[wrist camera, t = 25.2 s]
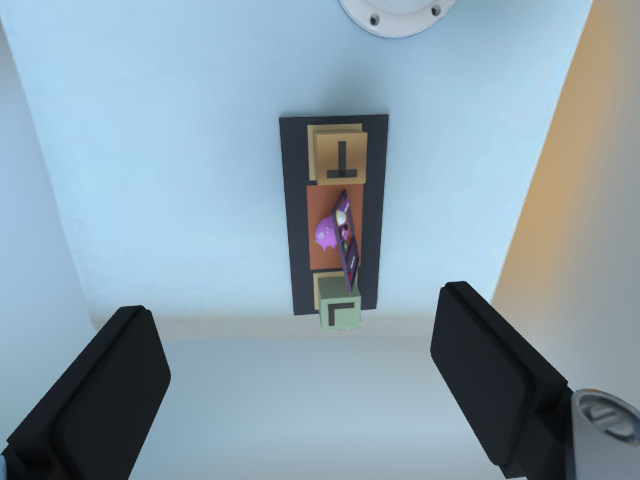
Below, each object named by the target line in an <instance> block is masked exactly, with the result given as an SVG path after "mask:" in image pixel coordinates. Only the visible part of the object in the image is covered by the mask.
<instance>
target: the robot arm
mask: <svg viewBox="0 0 640 480" xmlns="http://www.w3.org/2000/svg"><path fill="white" fill-rule="evenodd" d="M338 1H339V3H340V5H341V6H342V7H343V9H344V10H345V12H346V13H347V14H348V16H349V17H350V18H351V19H352V20H353V21H354V22H355V23H356V24H357V25H359V26H360V27H361V28H363V29H364V30H366V31H368V32H370V33H371V34H374V35H377V36H380V37H384V38H402V37H409V36H411V35H414V34H416V33H419V32H422V31H423V30H425V29H426V28H428V27H430V26H432V25H433V24H434V23H436V22H437V21H438V20H440V19H441V18H442V17H443V16H444V15H445V14H446V13H447V12H448V10H449V9H450V8H451V7H452V6H453V5H454V3H455V2H456V0H338ZM431 10H433V11H434V15H433V14H432V11H431ZM371 19H374V20H375V24H374V25H372V24H371V23H370V20H371ZM430 352H431V356H432V359H433V361H434V363H435V364H436V366H437V368H438V369H439V371H440V373H441V375H442V377H443V378H444V380H445V382H446V384H447V386H448V387H449V389H450V391H451V393H452V394H453V396H454V398H455V399H456V401H457V403H458V405H459V407H460V408H461V410H462V412H463V413H464V415H465V417H466V419H467V421H468V422H469V424H470V426H471V428H472V429H473V431H474V433H475V435H476V436H477V438H478V440H479V442H480V444H481V445H482V447H483V448H484V450H485V452H486V454H487V456H488V458H489V459H490V461H491V462H492V463H493V464H494V465H498V466H499V467H500V469H501V471H502V473H503V474H504V476H505V478H506V479H510V478H518V477H525V476H526V477H527V479H528V480H640V411H638V410H637V409H636V408H635V407H633V406H632V405H630V404H628V403H627V402H625V401H623V400H622V399H620V398H618V397H615V396H613V395H611V394H609V393H606V392H602V391H599V390H595V389H581V390H577V391H576V392H573V391H572V390H571V389H570V388H569V387H568V386H567V384H568V381H567V380H566V379H565V378H564V377H563V376H562V375H561V374H560V373H559V372H558V371H557V370H556V369H555V368H554V367H553V366H552V365H551V364H550V363H549V362H548V361H546V359H545V358H544V357H543V356H542V355H540V353H539V352H537V350H536V349H534V348H533V347H532V346H531V345H530V344H529V343H528V342H527V341H526V340H525V339H524V338H523V337H522V336H521V335H520V334H519V333H518V332H517V331H516V330H515V329H514V328H513V327H512V326H511V325H510V324H509V323H508V322H507V321H506V320H505V319H504V318H503V317H502V316H501V315H500V314H499V313H498V312H497V311H496V310H495V309H494V308H493V307H492V306H491V305H490V304H489V303H488V302H487V301H486V300H485V299H484V298H483V297H482V296H481V295H480V294H479V293H478V292H476V291H475V290H474V289H473V288H472V287H471V286H470V285H469V284H468V283H467V282H466V281H458V282H448V283H446V284H445V287H442V288H441V289H440V294H439V299H438V305H437V311H436V317H435V323H434V329H433V335H432V341H431V348H430ZM170 379H171V373H170V369H169V366H168V363H167V360H166V357H165V354H164V350H163V347H162V344H161V341H160V338H159V335H158V332H157V328H156V325H155V322H154V319H153V316H152V313H151V311H150V310H146V309H145V307H144V306H142V305H138V306H125V307H120V308H119V309H118V310H117V311H116V312H115V313H114V315H113V316H112V317H111V318H110V319H109V320H108V322H107V323H106V324H105V325H104V326H103V328H102V329H101V330H100V331H99V332H98V333H97V335H96V336H95V337H94V338H93V339H92V340H91V342H90V343H89V344H88V345H87V346H86V348H85V349H84V350H83V351H82V352H81V353H80V354H79V356H78V357H77V358H76V359H75V360H74V362H73V363H72V364H71V365H70V366H69V367H68V369H67V370H66V371H65V372H64V373H63V374H62V376H61V377H60V378H59V379H58V380H57V381H56V383H55V384H54V385H53V386H52V387H51V388H50V390H49V391H48V392H47V393H46V394H45V396H44V397H43V398H42V399H41V400H40V401H39V403H38V404H37V405H36V406H35V407H34V408H33V410H32V411H31V412H30V413H29V414H28V415H27V417H26V418H25V419H24V420H23V421H22V423H21V424H20V425H19V426H18V427H17V428H16V430H15V431H14V432H13V433H12V434H11V436H10V437H9V438H8V439H7V440H6V441H7V442H8V443H9V445H8V446H7V447H6V448H5V450H4V451H3V452H2V453H1V454H0V480H128V478H129V476H130V474H131V471H132V469H133V467H134V464H135V462H136V460H137V457H138V455H139V453H140V451H141V448H142V446H143V444H144V441H145V439H146V437H147V435H148V432H149V430H150V428H151V425H152V423H153V421H154V418H155V416H156V414H157V412H158V409H159V407H160V404H161V402H162V400H163V398H164V395H165V393H166V391H167V389H168V386H169V384H170Z"/></svg>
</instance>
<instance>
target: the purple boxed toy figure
mask: <svg viewBox="0 0 640 480" xmlns="http://www.w3.org/2000/svg"><path fill="white" fill-rule="evenodd" d="M343 198H344V203H343V205H342V206H341V208H340V209H339V210H338V208H339V206H340V204H341V202H342V200H343ZM346 211H347V216H348V221H349V226H350V231H351V236H352V237H351V241H350V244H349V247H348V250H347V253H346V249H347V246H346V241H345V240H347V238H346V237H347V235H348V225H347V223H346V215H345V213H346ZM315 238H316V240H315V242H316V244H318V243H319V244H320V245H321V246H322V247H323V250H324V251H325V249H326V247H328V246H332V247H333V248H334V249H335V245H336V244H337V245H338V250H339V254H340V259H341V263H342V267H343V272H344V276H345V281H346V285H347V290H348V293H350V292H352V291H353V286H354V282H355V278H356V274H357V269H358V265H359V261H360V257H359V252H358V247H357V242H356V237H355V231H354V226H353V221H352V216H351V211H350V204H349V199H348V195H347V190H346V189H345V190H342V192H341V194H340V196H339V198H338V199H337V201H336V203H335V205H334V207H333V209H332V211H331V216H330V217H326V218H324V219H323V220H322V221H320V223H319V224H318V226H317V228H316V231H315ZM344 253H346V256H344Z"/></svg>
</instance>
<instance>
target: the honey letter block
mask: <svg viewBox="0 0 640 480" xmlns="http://www.w3.org/2000/svg"><path fill="white" fill-rule="evenodd" d="M313 154H314V176H315V179H316V181H317V184H318V185H340V184H361V183H366V157H367V132H364V131H360V130H357V129H348V130H318V131H313Z"/></svg>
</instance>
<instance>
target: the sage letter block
mask: <svg viewBox="0 0 640 480" xmlns="http://www.w3.org/2000/svg"><path fill="white" fill-rule="evenodd" d="M318 308H319V315H320V322H321V329H322V331H330V330H341V329H353V328H360V309H361V295H360V293H359V290H358V287H357V285H356V282H354V286H353V291H352V292H350V293H348V290H347V285H346V281H345V276H341V277H327V278H318Z"/></svg>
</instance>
